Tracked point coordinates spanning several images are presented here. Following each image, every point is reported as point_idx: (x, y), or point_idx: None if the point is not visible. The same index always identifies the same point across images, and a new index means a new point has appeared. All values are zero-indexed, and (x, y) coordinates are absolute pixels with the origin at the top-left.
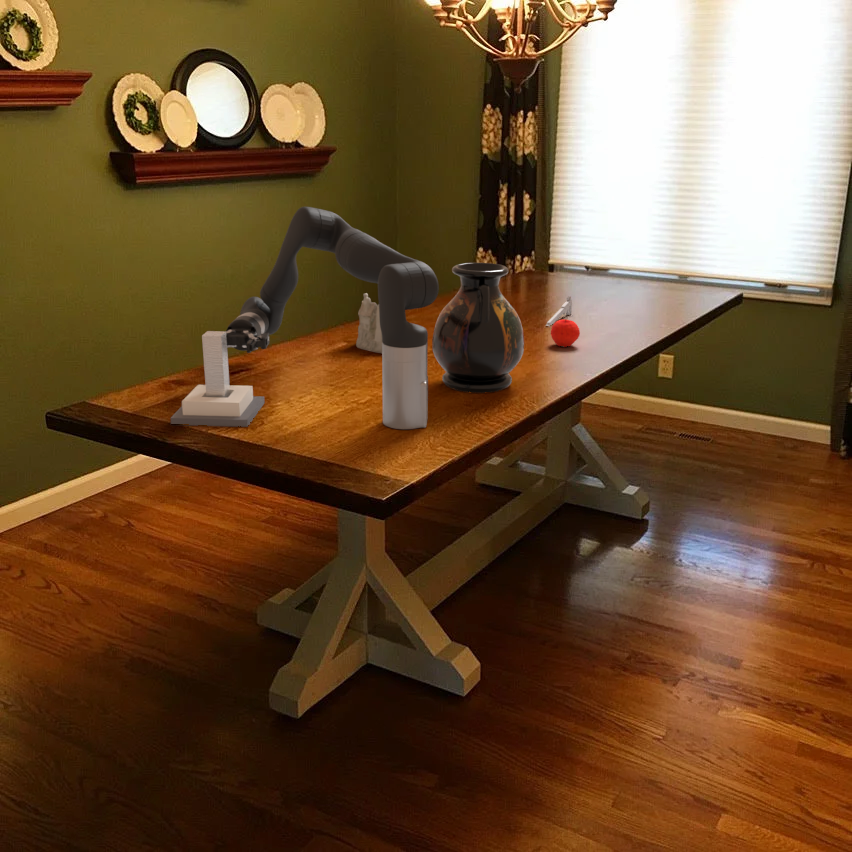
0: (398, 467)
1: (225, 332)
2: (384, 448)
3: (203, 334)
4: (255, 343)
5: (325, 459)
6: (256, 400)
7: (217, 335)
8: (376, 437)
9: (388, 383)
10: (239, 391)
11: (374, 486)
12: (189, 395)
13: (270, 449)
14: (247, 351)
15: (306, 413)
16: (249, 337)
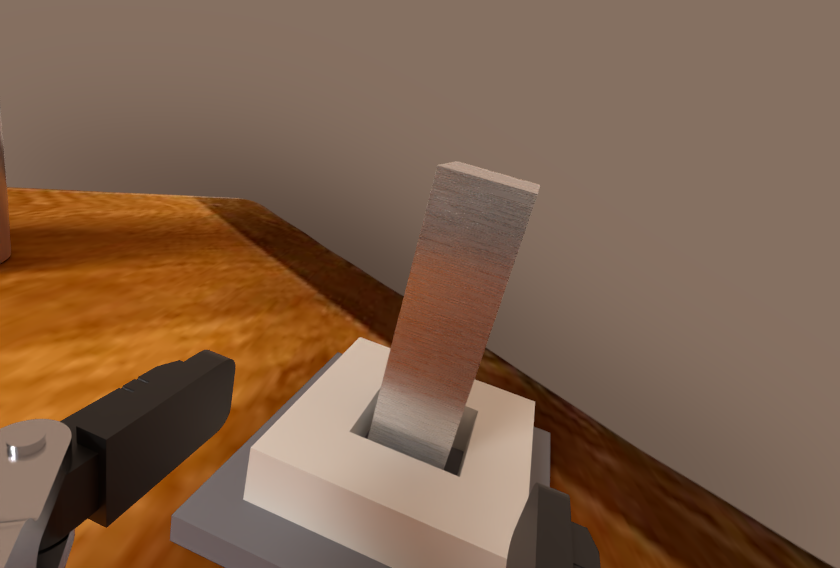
0: (172, 208)
1: (440, 166)
2: (130, 230)
3: (538, 186)
4: (90, 413)
5: (253, 246)
6: (239, 475)
7: (473, 167)
8: (94, 248)
9: (1, 139)
10: (333, 408)
11: (240, 207)
12: (525, 438)
13: (323, 289)
14: (224, 407)
15: (105, 382)
16: (41, 509)
